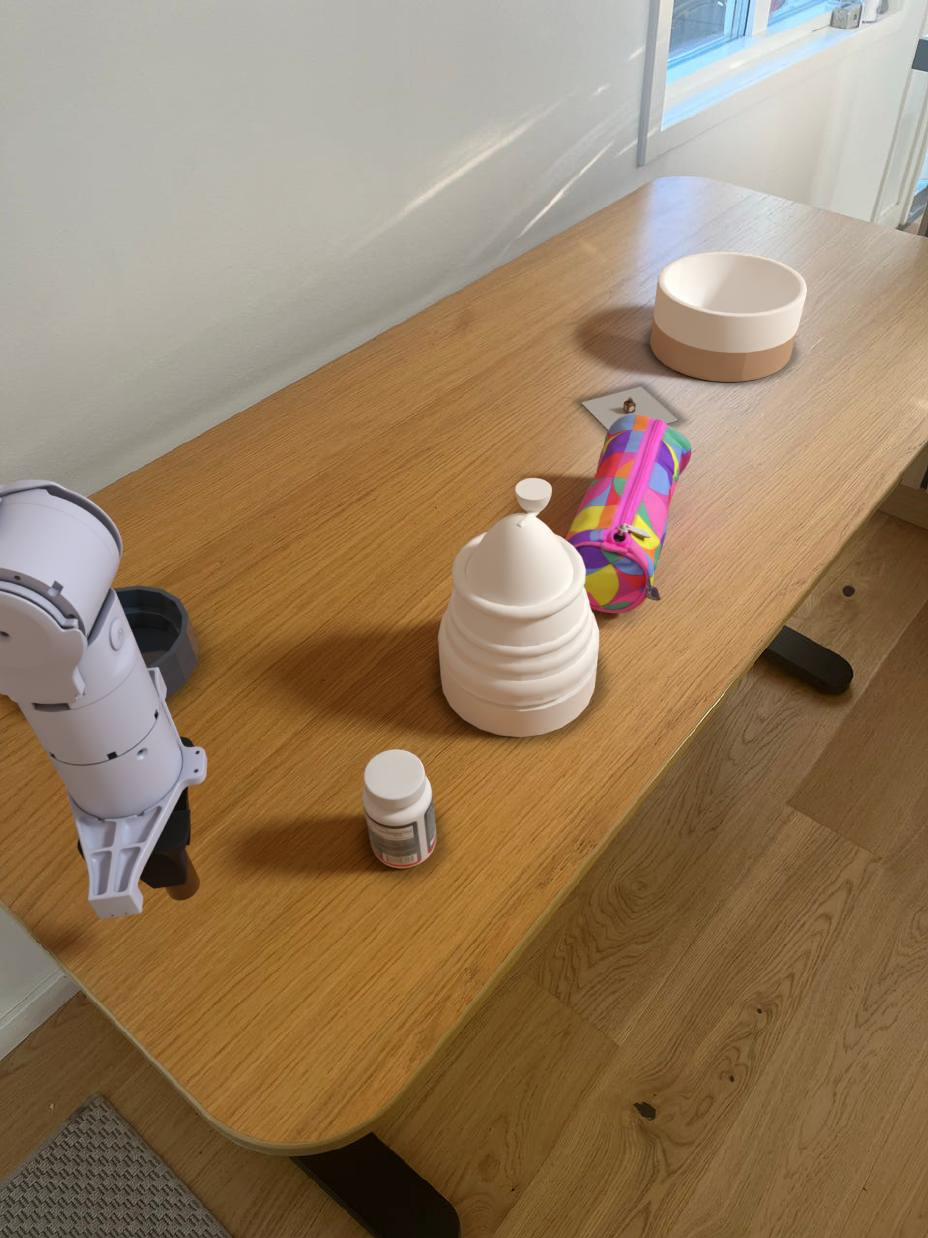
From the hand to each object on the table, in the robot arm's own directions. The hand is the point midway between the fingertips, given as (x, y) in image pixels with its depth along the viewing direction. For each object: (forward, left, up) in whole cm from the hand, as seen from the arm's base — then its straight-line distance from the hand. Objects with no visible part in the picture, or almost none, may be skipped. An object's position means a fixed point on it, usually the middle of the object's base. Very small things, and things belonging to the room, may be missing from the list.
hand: (171, 862), depth 54 cm
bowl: (+60, +68, -10) cm, 91 cm away
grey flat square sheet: (+45, +56, -10) cm, 72 cm away
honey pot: (+25, +19, -10) cm, 32 cm away
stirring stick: (0, 0, -3) cm, 3 cm away
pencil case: (+38, +33, -10) cm, 51 cm away
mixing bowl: (-7, +25, -9) cm, 28 cm away
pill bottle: (+14, +5, -10) cm, 17 cm away
